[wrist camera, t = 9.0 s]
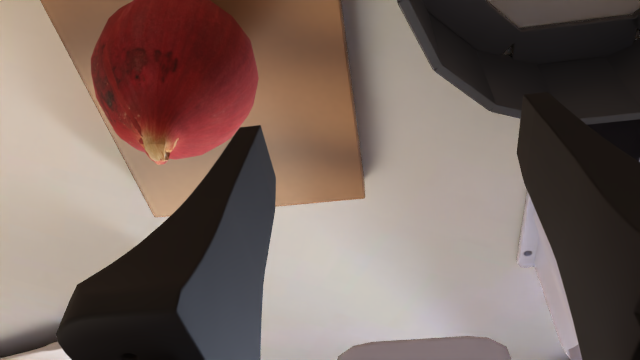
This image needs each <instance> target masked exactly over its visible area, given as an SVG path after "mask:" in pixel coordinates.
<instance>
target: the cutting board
mask: <svg viewBox="0 0 640 360" xmlns="http://www.w3.org/2000/svg"><path fill="white" fill-rule="evenodd" d="M40 1H41V3H42V4H43V6H44V8H45V10H46V12H47V14H48V16H49V18H50V20H51V22H52V23H53V25H54V27H55V29H56V31H57V33H58V35H59V37H60V39H61V41H62V42H63V44H64V46H65V48H66V50H67V52H68V54H69V56H70V58H71V60H72V61H73V63H74V65H75V67H76V69H77V71H78V73H79V75H80V77H81V79H82V80H83V82H84V84H85V86H86V88H87V90H88V92H89V94H90V96H91V97H92V99H93V101H94V103H95V105H96V107H97V109H98V111H99V113H100V115H101V116H102V118H103V120H104V122H105V124H106V126H107V128H108V130H109V132H110V134H111V135H112V137H113V139H114V141H115V143H116V145H117V147H118V149H119V151H120V153H121V154H122V156H123V158H124V160H125V162H126V164H127V166H128V168H129V170H130V172H131V173H132V175H133V177H134V179H135V181H136V183H137V185H138V187H139V189H140V191H141V192H142V194H143V196H144V198H145V200H146V202H147V204H148V206H149V208H150V209H151V211H152V213H153V215H154V217H165V216H171V215H172V214H173V213H174V212H175V211H176V210H177V209H178V208H179V207H180V206H181V205H182V204H183V203H184V202H185V201H186V199H187V198H188V197H189V196H190V195H191V193H192V192H193V191H194V190H195V189H196V187H197V186H198V185H199V184H200V182H201V181H202V180H203V179H204V177H205V176H206V175H207V173H208V172H209V171H210V169H211V168H212V166H213V165H214V164H215V162H216V161H217V160H218V158H219V157H220V155H221V154H222V152H223V151H224V149H225V148H226V146H227V145H228V144H229V142H230V141H231V139H232V138H233V136H234V135H235V134H234V135H233V136H232V137H231V138H230V139H229V140H228V141H226V142H225V143H223V144H221V145H219V146H217V147H216V148H214V149H212V150H210V151H208V152H206V153H205V154H203V155H199V156H194V157H188V158H183V159H177V160H174V159H169V160H168V161H167V162H166V163H165V164H161V165H157V164H156V163H155V162H154V161H152V160H151V159H150V158H149V157H148V156H147V154H146V153H144V152H142V151H139V150H137V149H135V148H134V147H132V146H131V145H129V144H128V143H127V142H125V141H124V140H122V139H121V138H120V137H119V136H118V135H117V134H116V133H115V131H114V129H113V127H112V126H111V124H110V122H109V120H108V119H107V117H106V115H105V113H104V111H103V109H102V108H101V106H100V104H99V102H98V100H97V98H96V95H95V90H94V85H93V80H92V75H91V56H92V54H93V51H94V48H95V45H96V43H97V41H98V39H99V37H100V35H101V33H102V31H103V29H104V27H105V25H106V23H107V21H108V19H109V18H110V17H111V16H112V15H113V14H114V13H115V12H116V11H117V10H118V9H119V8H121V7H123V6H124V5H126V4H128V3H130V2H132V1H133V0H40ZM210 1H212V2H213V3H214V4H216V5H217V6H219V7H220V8H221V9H223V10H224V11H226V12H227V13H229V14H230V15H231V16H233V18H234V19H235V20H236V22H237V23H238V24H239V26H240V27H241V28H242V30H243V31H244V32H245V33H246V35H247V36H248V37H249V39H250V40H251V44H252V49H253V53H254V57H255V61H256V65H257V71H258V77H259V80H258V85H257V90H256V94H255V99H254V104H253V107H252V109H251V111H250V113H249V115H248V116H247V118H246V119H245V120H244V122H243V123H242V124H241V126H240V127H248V126H256V125H261V128H262V132H263V135H264V138H265V142H266V145H267V149H268V152H269V155H270V159H271V162H272V166H273V169H274V172H275V176H276V200H275V206H286V205H297V204H308V203H319V202H330V201H341V200H352V199H363V198H365V184H364V174H363V166H362V159H361V151H360V143H359V135H358V128H357V120H356V112H355V105H354V97H353V89H352V81H351V74H350V66H349V58H348V50H347V43H346V35H345V27H344V20H343V12H342V4H341V0H210ZM240 127H239V128H240ZM236 132H237V131H236Z"/></svg>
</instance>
